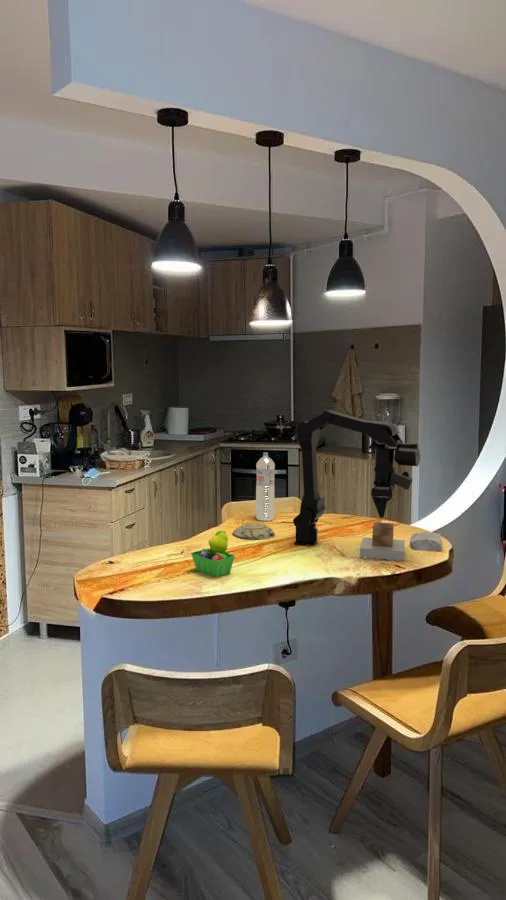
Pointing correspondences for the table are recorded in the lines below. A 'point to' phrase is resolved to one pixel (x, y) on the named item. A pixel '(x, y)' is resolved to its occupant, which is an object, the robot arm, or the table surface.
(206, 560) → the fruit basket
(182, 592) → the table surface
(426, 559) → the table surface
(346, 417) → the robot arm
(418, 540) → the stone block
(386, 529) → the cube
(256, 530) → the decorative bowl
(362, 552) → the tile
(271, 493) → the water bottle
